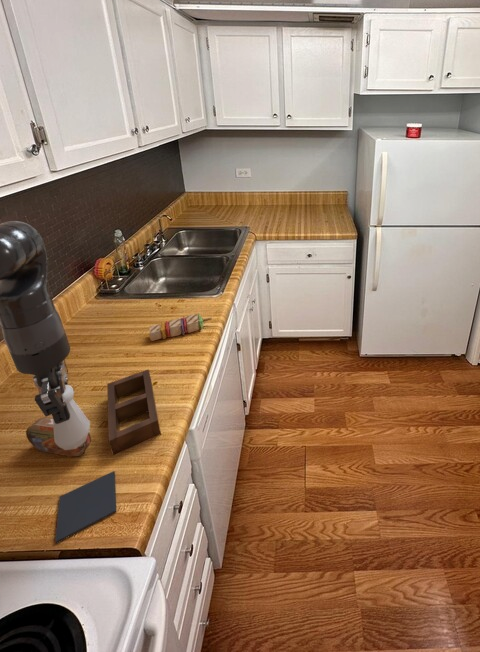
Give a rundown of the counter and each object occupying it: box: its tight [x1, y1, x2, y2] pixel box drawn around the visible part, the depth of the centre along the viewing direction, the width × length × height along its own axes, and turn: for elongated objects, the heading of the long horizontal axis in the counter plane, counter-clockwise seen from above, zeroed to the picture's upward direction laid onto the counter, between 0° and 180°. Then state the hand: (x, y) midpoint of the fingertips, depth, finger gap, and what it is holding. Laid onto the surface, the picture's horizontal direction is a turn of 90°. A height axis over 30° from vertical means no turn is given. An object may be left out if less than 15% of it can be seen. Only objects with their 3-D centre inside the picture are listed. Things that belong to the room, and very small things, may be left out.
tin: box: [25, 416, 92, 457], centre depth 78 cm, size 15×3×8 cm, turn 82°
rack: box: [106, 369, 162, 456], centre depth 87 cm, size 10×19×5 cm, turn 31°
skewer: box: [148, 313, 212, 342], centre depth 119 cm, size 21×6×5 cm, turn 115°
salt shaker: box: [52, 384, 91, 450], centre depth 63 cm, size 6×6×13 cm
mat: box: [54, 470, 117, 544], centre depth 68 cm, size 10×9×1 cm
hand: (64, 410), depth 63 cm, fingers closed on salt shaker, 4 cm apart
